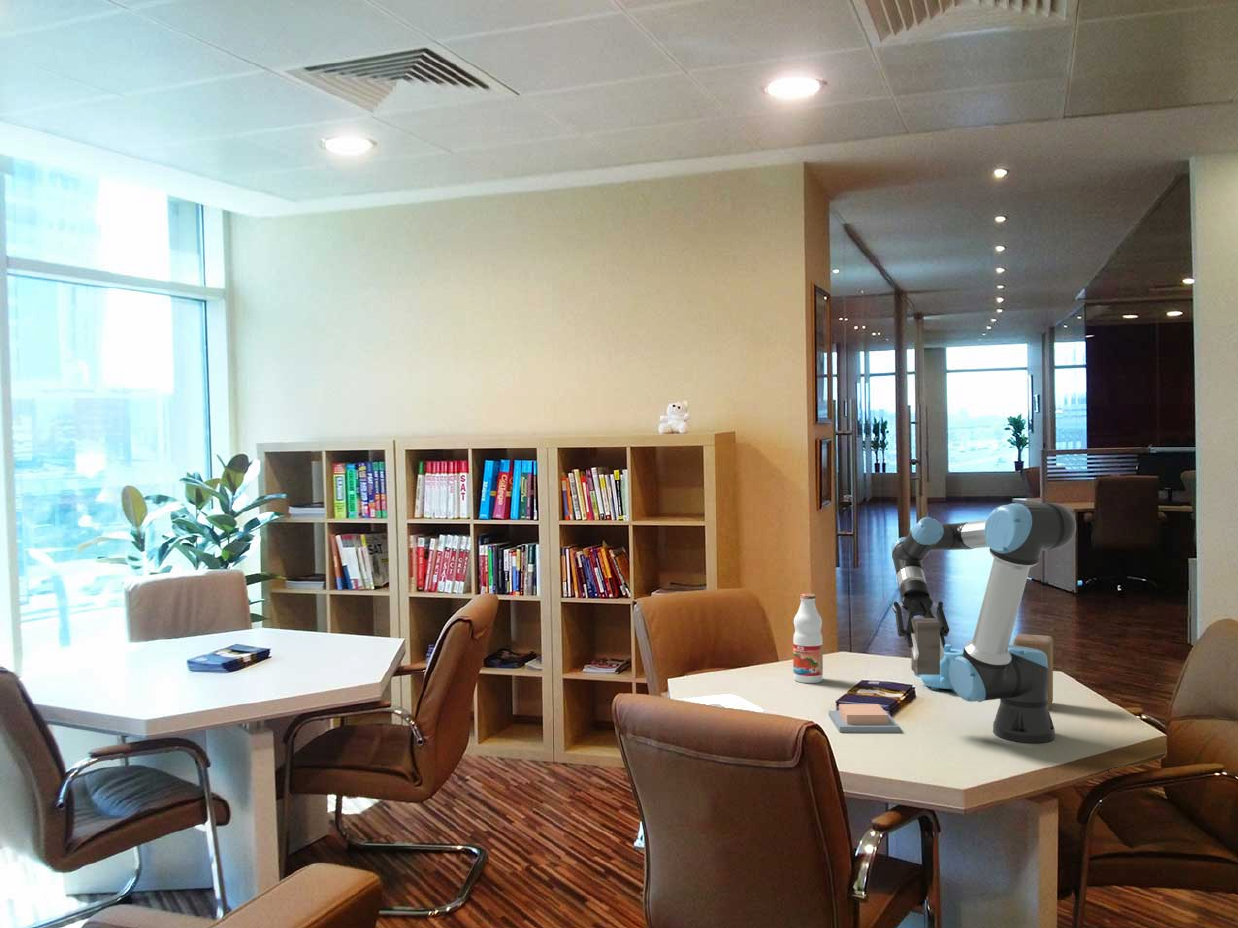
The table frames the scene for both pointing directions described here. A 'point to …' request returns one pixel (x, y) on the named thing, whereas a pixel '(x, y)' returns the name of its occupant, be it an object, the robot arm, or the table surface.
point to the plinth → (861, 726)
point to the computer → (726, 702)
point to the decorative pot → (942, 670)
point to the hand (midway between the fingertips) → (929, 656)
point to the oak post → (926, 646)
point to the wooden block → (1043, 645)
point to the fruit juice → (807, 642)
